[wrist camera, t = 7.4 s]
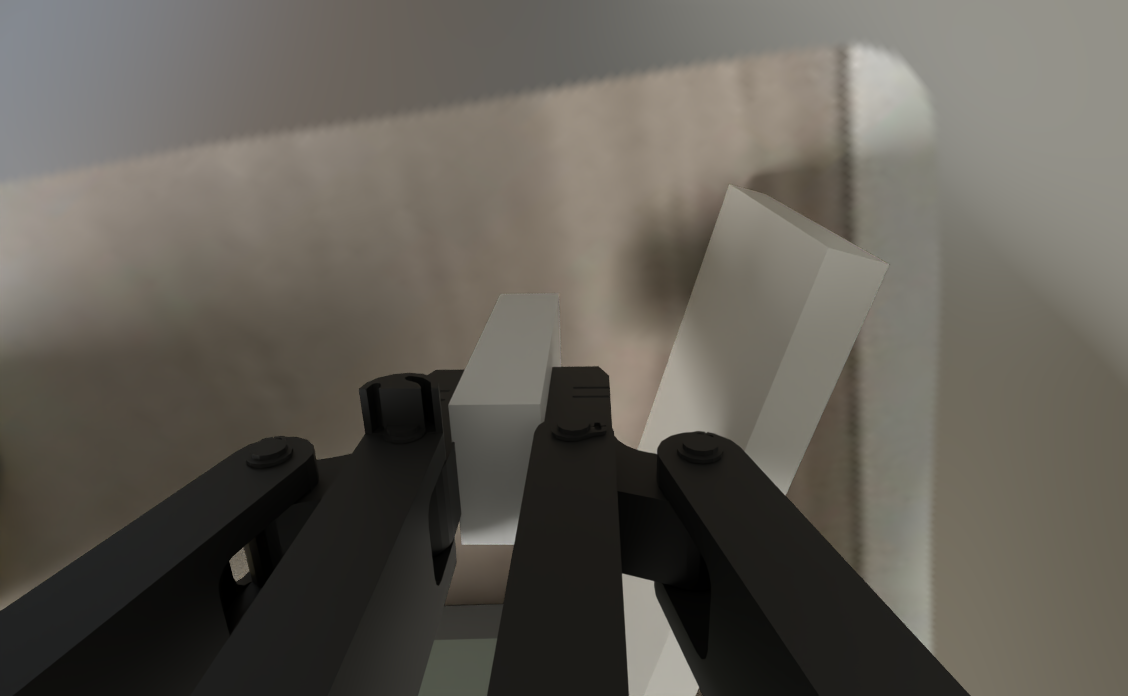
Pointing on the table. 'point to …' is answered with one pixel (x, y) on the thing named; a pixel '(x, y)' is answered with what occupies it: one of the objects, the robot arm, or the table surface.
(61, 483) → the table surface
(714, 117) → the table surface
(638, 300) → the table surface
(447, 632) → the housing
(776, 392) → the door
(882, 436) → the table surface
